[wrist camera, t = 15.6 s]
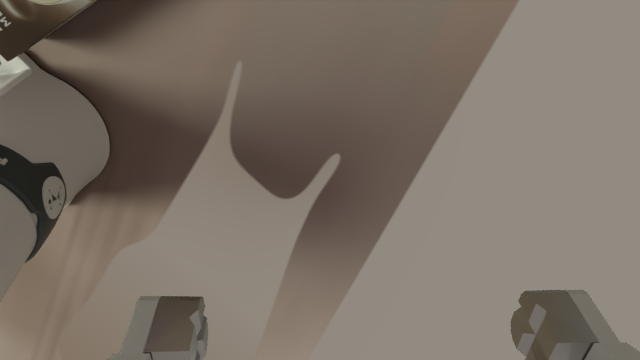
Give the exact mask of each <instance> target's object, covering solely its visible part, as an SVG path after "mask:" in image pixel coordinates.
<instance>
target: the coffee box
mask: <svg viewBox="0 0 640 360" xmlns="http://www.w3.org/2000/svg"><path fill="white" fill-rule="evenodd" d="M96 1H97V0H0V55H1V56H2V57H3V58H4V59H5V60H6V61H7V62H9V61H10V60H12V59H14V58H15V57H17V56H18V55H20V54H23V53H24V52H25V51H27V50H28V49H29V48H30V47H31V46H33V45H34V44H36V43H37V42H39V41H40V40H42V39H43V38H45V37H46V36H48V35H49V34H50V33H52V32H53V31H55V30H56V29H57V28H59V27H60V26H62V25H63V24H65V23H66V22H67V21H69V20H70V19H72V18H73V17H74V16H76V15H77V14H79V13H80V12H82V11H83V10H84V9H86V8H87V7H89V6H90V5H92V4H93V3H95V2H96Z"/></svg>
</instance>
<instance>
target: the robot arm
mask: <svg viewBox="0 0 640 360" xmlns="http://www.w3.org/2000/svg"><path fill="white" fill-rule="evenodd" d="M0 62H1V64H0V302H1V300H2V299H3V297H4V295H5V294H6V292H7V291H8V289H9V287H10V286H11V284H12V283H13V281H14V279H15V278H16V276H17V274H18V273H19V271H20V270H21V268H22V266H23V265H24V263H26V262H27V261H29V260H30V259H31V258H32V257H34V256H35V254H36V253H37V252H38V251H39V249H40V248H41V246H42V245H43V243H44V242H45V240H46V239H47V237H48V236H49V234H50V233H51V231H52V229H53V228H54V226H55V224H56V222H57V220H58V218H59V216H60V214H61V212H62V209H64V208H66V207H67V206H68V205H69V204H70V203H71V202H72V200H73V199H74V197H75V195H76V194H77V193H78V192H79V191H80V190H81V189H82V188H83V187H85V186H86V185H87V184H88V183H89V182H91V181H92V180H93V179H94V178H96V177H97V176H98V175H99V174H100V173H101V171H102V170H103V169H104V167H105V165H106V163H107V160H108V157H109V151H110V143H109V136H108V132H107V129H106V127H105V124H104V122H103V120H102V118H101V117H100V115H99V113H98V112H97V111H96V109H95V108H94V107H93V106H92V104H91V103H90V102H89V101H88V100H87V99H86V98H85V97H84V96H83V95H82V94H80V93H79V92H78V91H77V90H75V89H74V88H73V87H71V86H70V85H68V84H67V83H65V82H63V81H61V80H60V79H58V78H56V77H54V76H52V75H50V74H48V73H47V72H45V71H43V70H42V69H40V68H39V67H38V66H37V65H36V64H35V63H34V62H33V61H32V60H31V59H30V58H29V57H28V56H27V55H26V54H25V53H23V54H20V55H18V56H17V57H15V58H14V59H12V60H10V61H9V62H7V61H6V60H5V59H4V58H3V57H2V56H1V55H0ZM519 303H520V305H521V307H520V308H519V309H518V310H517V311H515V312H514V313H513V316H512V319H511V334H512V339H513V342H514V344H515V346H516V349H518V350H519V351H520V352H521V353H523V354H524V355H525V356H526V358H525V360H640V352H639V351H638V350H636V349H635V348H633V347H632V346H631V345H629V344H628V343H620V341H619V340H618V338H617V337H616V335H615V334H614V332H613V331H612V329H611V328H610V326H609V325H608V323H607V322H606V320H605V319H604V317H603V316H602V314H601V313H600V311H599V310H598V308H597V307H596V305H595V304H594V302H593V301H592V299H591V298H590V296H589V294H588V293H587V292H585V291H584V290H542V291H525V292H523V293H522V294H521V296H520V299H519ZM204 308H205V304H204V299H203V297H188V296H184V297H183V296H160V297H159V296H155V297H154V296H141V297H140V298H139V299H138V301H137V302H136V305H135V309H134V311H133V314H132V317H131V320H130V323H129V326H128V329H127V332H126V335H125V338H124V341H123V344H122V347H121V350H120V353H119V354H112V355H111V356H110V357H109V358H108V359H107V360H202V359H203V358H204V357H205V356H206V350H207V340H208V323H207V318H206V317H205V316H204V315H203V314H204Z"/></svg>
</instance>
